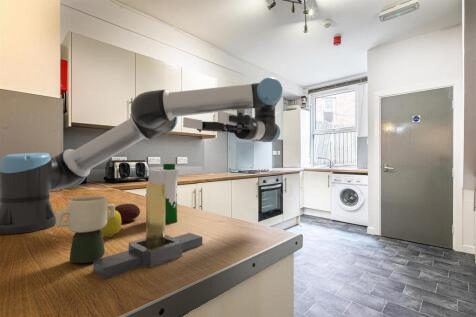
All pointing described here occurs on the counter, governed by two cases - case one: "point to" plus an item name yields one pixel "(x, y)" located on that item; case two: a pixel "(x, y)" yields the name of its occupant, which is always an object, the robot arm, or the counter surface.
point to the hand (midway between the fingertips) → (200, 119)
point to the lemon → (112, 224)
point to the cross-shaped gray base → (145, 255)
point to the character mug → (86, 226)
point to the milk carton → (167, 189)
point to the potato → (128, 212)
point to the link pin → (155, 215)
